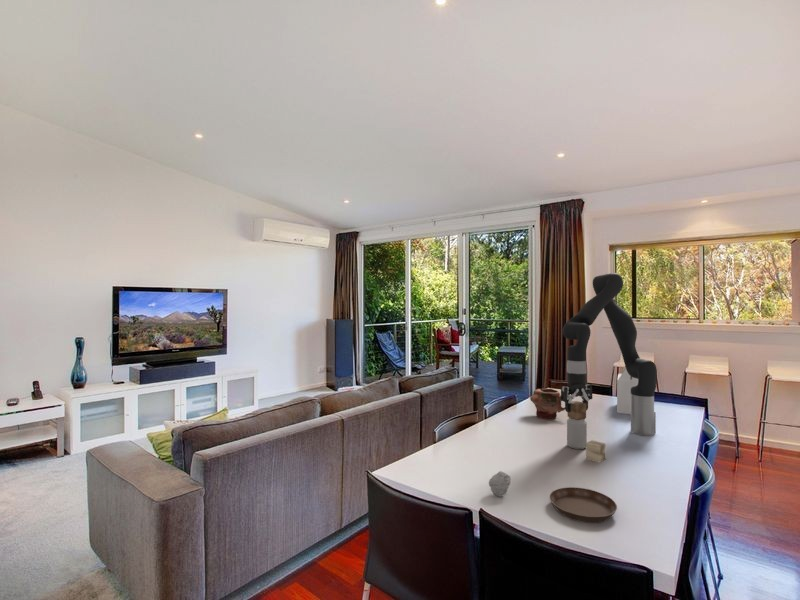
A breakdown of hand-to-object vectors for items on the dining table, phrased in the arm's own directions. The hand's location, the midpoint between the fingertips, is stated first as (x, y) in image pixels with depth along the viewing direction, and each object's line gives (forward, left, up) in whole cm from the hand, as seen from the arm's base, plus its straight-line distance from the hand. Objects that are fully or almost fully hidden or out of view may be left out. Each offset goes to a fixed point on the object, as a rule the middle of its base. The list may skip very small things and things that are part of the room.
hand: (576, 411), depth 173 cm
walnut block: (0, 0, -3) cm, 3 cm away
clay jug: (-19, -39, -15) cm, 46 cm away
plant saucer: (+37, +42, -15) cm, 58 cm away
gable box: (-71, -36, -15) cm, 81 cm away
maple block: (+3, +13, -15) cm, 20 cm away
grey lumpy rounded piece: (+54, +26, -15) cm, 62 cm away
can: (0, 0, -15) cm, 15 cm away
